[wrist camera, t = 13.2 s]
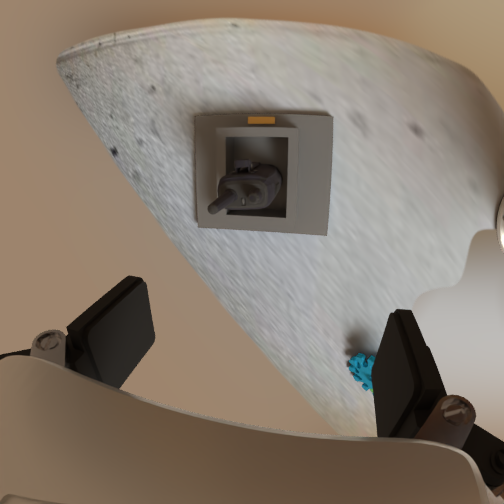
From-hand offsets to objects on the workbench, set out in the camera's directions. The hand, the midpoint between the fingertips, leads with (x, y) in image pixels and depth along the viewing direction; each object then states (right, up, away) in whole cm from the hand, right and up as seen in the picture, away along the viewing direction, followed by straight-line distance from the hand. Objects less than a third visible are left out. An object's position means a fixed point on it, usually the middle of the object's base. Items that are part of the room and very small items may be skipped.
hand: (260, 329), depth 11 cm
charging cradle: (+1, +12, +24) cm, 27 cm away
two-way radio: (+1, +12, +23) cm, 26 cm away
